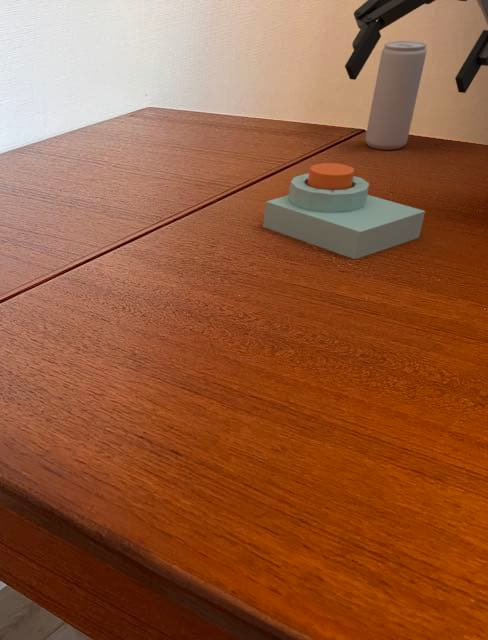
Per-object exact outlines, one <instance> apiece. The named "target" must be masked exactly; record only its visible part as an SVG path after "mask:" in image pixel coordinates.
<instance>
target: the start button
mask: <svg viewBox="0 0 488 640" xmlns="http://www.w3.org/2000/svg"><path fill="white" fill-rule="evenodd" d="M308 173H309V176H308V183H307V186H310V187H313V188H316V189H324V190H346V189H349V188H351V187H352V182H353V176H355V167H352V166H350V165H348V164H343V163H334V162H323V163H316V164H313V165H311V166H310V167H309V171H308Z"/></svg>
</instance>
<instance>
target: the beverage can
mask: <svg viewBox="0 0 488 640" xmlns="http://www.w3.org/2000/svg"><path fill="white" fill-rule="evenodd" d="M427 45H428V44H427V43H425V42H422V41H414V40H394V41H388V42H385V43H384V44H383V48H382V50H381V53H380V59H379V65H378V69H377V74H376V75H377V76H376V80H375V85H374V90H373V95H372V101H371V106H370V112H369V115H368V116H369V118H368V122H367V128H366V133H365V139H364V140H365V143H366V145H367V146H368V147H369V148H372V149H375V150H381V151H393V150H398V149H401V148H403V147H404V146H405V145H406V144H407V143H408V140H409V134H410V130H411V125H412V121H413V116H414V111H415V107H416V103H417V98H418V94H419V88H420V84H421V79H422V76H423V75H422V74H423V70H424V65H425V61H426V56H427V51H428V50H427V48H426V47H427Z"/></svg>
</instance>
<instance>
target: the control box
mask: <svg viewBox="0 0 488 640" xmlns="http://www.w3.org/2000/svg"><path fill="white" fill-rule="evenodd" d="M308 176H309V172H307V173H304V174H300V175H297V176H294V177H293V178H292V179H291V181H290V184H289V189H288V190H289V192H288V194H287V195H284V196H281V197H277V198H274V199H270V200H267V201H265V208H264V215H263V224H262V227H263V228H265V229H268V230H270V231H274V232H276V233H279V234H282V235H285V236H288V237H291V238H293V239H296V240H298V241H301V242H304V243H307V244H311V245H313V246H316V247H319V248H321V249H324V250H327V251H330V252H332V253H335V254H339V255H342V256H344V257H347V258H350V259H353V260H357V259H360V258H363V257H366V256H369V255H372V254H375V253H378V252H382V251H384V250H386V249H390V248H393V247H396V246H399V245H402V244H405V243H408V242H410V241H414V240H417V239H419V238H420V235H421V231H422V227H423V224H424V223H423V222H424V218H425V214H426V211H425V210H423V209H420V208H416V207H413V206H408V205H406V204H402V203H398V202H395V201H391V200H387V199H384V198H381V197H377V196H373V195H370V194H369V188H370V183H369V182H368V181H366V180H365V179H364V178H363V177H359V176H355V175H354V176H353V182H352V187H351V188H349V189H346V190H324V189H316V188H313V187H310V186H307V183H308Z"/></svg>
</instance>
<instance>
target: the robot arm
mask: <svg viewBox="0 0 488 640" xmlns="http://www.w3.org/2000/svg"><path fill="white" fill-rule="evenodd" d="M435 1H436V0H366V1H365V2H364V3H363V4H361V5H360V6H359V7H358V8H357V9H356V10H354V12H353V17H354V20H355V22H356V25H357V28H358V29H359V31H358V33H357V34H356V36H355V37H354V40H353V41H352V45H351V46H352V49H353V51H352V52H351V55H350V56H349V58H348V60H347V62H345V65H344V68H345V70H346V73H347V76H348V78H349V80H352V81H353V80H354V81H355V80H357V78H358V76H359V75H360V73H361V72H362V70H363V68H364V67H365V65H366V63H367V61H368V60H369V58H370V56H371V54H372V53H373V51H374V49H375V47H376V46H377V44H378V42H379V41H380V39H381V37H382V35H381V31H382V30H384V29H385V28H387V27H388V26H390V25H392V24H393V23H395V22H397V21H398V20H400V19H402V18H403V17H405V16H407V15H408V14H410V13H412V12H413V11H415V10H416V9H418V8H420V7H422V6H423V5H430V4H432V3H434V2H435ZM458 2H468V0H458ZM476 2H477V4H478V6H479V8H480V11H481V13H482V15H483V17H484V19H485V22H486V24H487V25H488V0H476ZM482 66H485V67H488V29H483V30H482V31H481V34H480V35H479V37H478V38H477V40H476V42H475V43H474V46H473V47H472V49H471V50H470V52H469V54H468V56H467V57H466V58H465V61H464V62H463V64H462V66H461V67H460V69H459V71H458V72H457V74H456V76H455V77H454V79H455V83H456V87H457V91H458V93H463V94H466V92H467V91H468V89H469V88H470V86H471V84H472V83H473V81H474V79H475V77H476V76H477V74H478V72H479V71H480V69H481V67H482Z"/></svg>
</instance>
